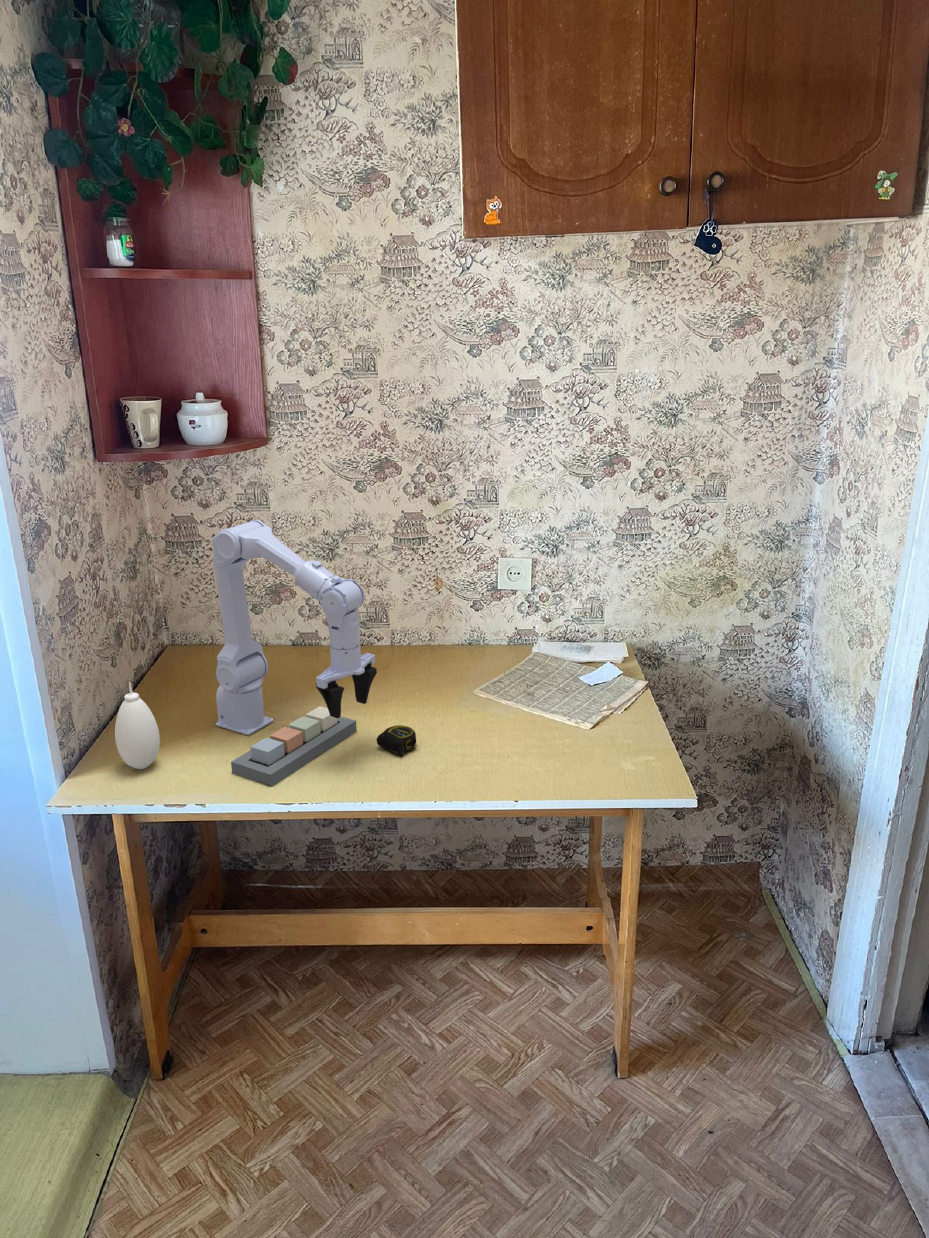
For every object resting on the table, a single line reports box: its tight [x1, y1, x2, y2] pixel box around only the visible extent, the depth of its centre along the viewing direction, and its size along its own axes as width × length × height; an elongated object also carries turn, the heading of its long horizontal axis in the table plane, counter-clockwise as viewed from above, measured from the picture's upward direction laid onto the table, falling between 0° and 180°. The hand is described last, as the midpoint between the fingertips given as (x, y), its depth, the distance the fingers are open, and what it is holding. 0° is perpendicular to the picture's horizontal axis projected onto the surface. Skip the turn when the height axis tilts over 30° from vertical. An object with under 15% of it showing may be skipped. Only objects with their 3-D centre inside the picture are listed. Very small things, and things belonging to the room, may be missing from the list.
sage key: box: [287, 715, 321, 742], centre depth 189 cm, size 4×4×3 cm
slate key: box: [250, 737, 285, 765], centre depth 180 cm, size 4×4×3 cm
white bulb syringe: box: [114, 681, 161, 770], centre depth 180 cm, size 8×8×18 cm
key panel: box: [230, 716, 358, 788], centre depth 188 cm, size 10×26×2 cm, turn 149°
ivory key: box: [305, 706, 337, 731], centre depth 193 cm, size 4×4×3 cm
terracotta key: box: [269, 726, 303, 753], centre depth 185 cm, size 4×4×3 cm
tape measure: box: [376, 724, 417, 756], centre depth 189 cm, size 7×7×4 cm
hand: (348, 709), depth 183 cm, fingers open, 7 cm apart
